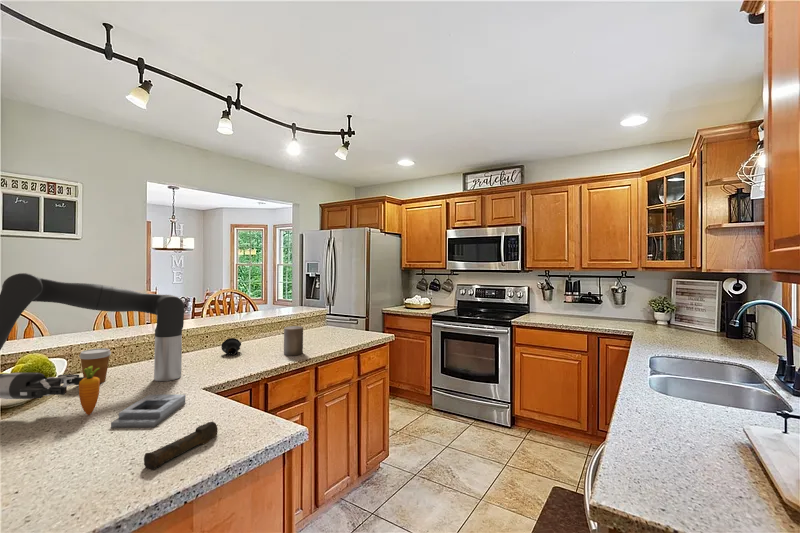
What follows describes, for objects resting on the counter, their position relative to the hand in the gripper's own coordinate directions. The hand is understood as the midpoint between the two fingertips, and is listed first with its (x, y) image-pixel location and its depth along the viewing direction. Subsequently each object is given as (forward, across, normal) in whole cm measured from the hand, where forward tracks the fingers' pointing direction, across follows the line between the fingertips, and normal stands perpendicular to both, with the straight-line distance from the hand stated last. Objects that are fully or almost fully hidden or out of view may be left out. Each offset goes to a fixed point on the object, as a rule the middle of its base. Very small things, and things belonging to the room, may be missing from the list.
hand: (77, 385), depth 112 cm
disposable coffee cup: (-17, +31, +9) cm, 36 cm away
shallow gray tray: (+22, 0, +9) cm, 23 cm away
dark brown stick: (+42, -22, +10) cm, 48 cm away
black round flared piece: (+17, +79, +10) cm, 81 cm away
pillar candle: (+48, +77, +10) cm, 91 cm away
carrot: (+4, 0, +9) cm, 10 cm away
